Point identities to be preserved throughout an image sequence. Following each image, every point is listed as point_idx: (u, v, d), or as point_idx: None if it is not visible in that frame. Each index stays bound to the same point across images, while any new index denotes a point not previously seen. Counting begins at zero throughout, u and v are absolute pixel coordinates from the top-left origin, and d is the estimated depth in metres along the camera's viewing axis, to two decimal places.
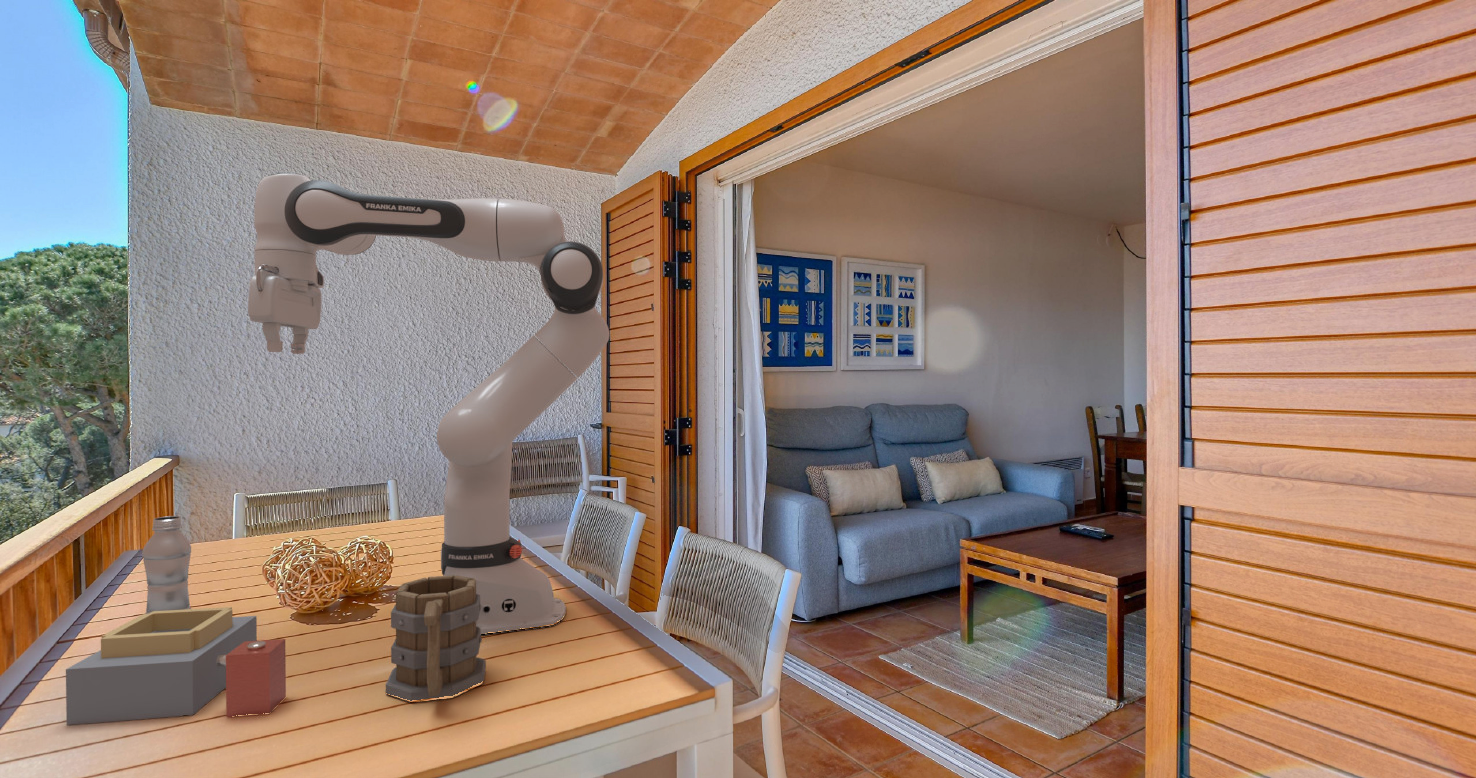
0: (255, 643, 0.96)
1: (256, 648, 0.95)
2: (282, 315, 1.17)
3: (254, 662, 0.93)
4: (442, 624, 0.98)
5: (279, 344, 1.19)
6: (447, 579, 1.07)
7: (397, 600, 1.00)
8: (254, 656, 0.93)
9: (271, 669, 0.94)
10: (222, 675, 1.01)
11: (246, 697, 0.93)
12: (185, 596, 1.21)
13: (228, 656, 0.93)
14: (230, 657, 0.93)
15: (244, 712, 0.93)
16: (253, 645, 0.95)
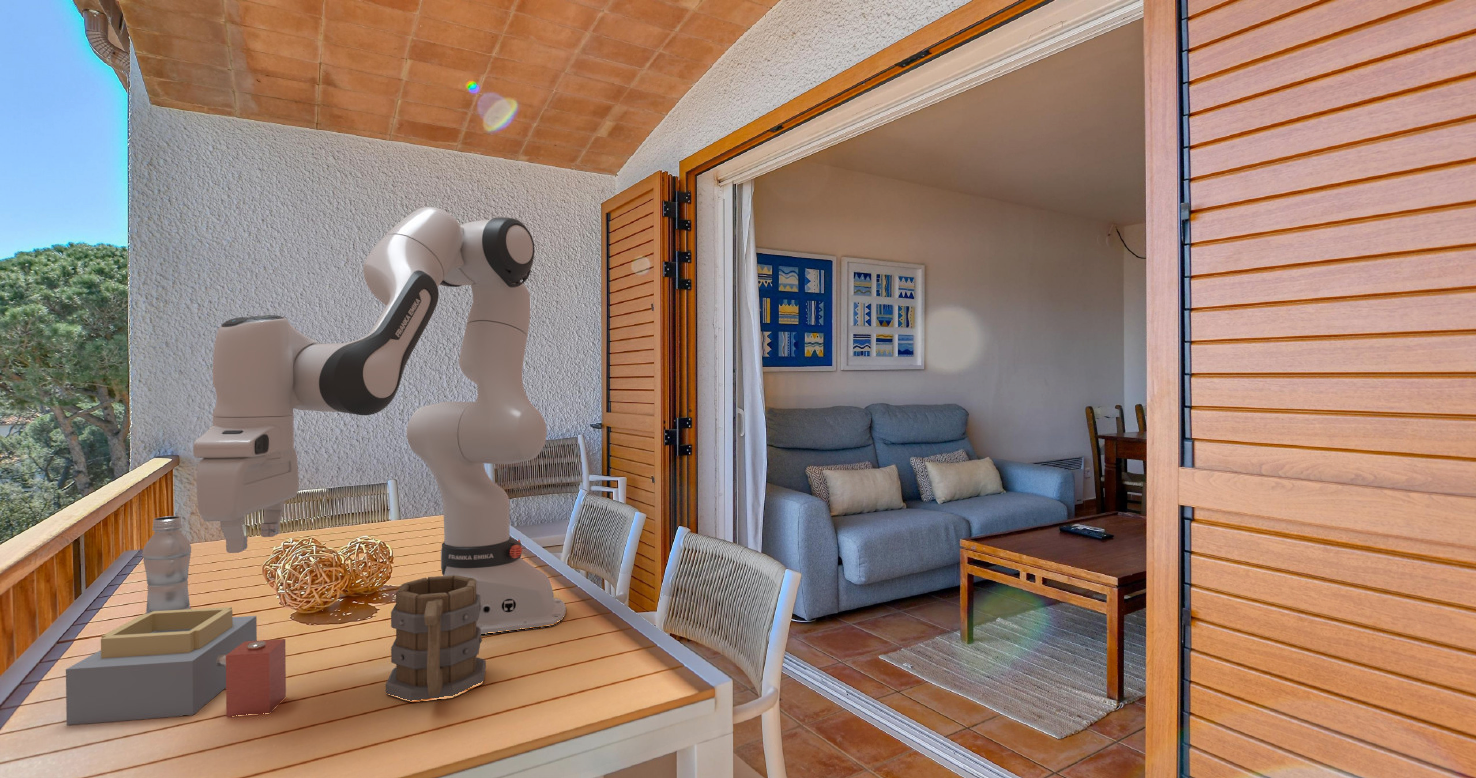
0: (255, 643, 0.96)
1: (256, 648, 0.95)
2: None
3: (254, 662, 0.93)
4: (443, 624, 0.98)
5: None
6: (447, 579, 1.07)
7: (397, 600, 1.00)
8: (254, 656, 0.93)
9: (271, 669, 0.94)
10: (222, 675, 1.01)
11: (246, 697, 0.93)
12: (185, 596, 1.21)
13: (228, 656, 0.93)
14: (230, 657, 0.93)
15: (244, 712, 0.93)
16: (253, 645, 0.95)
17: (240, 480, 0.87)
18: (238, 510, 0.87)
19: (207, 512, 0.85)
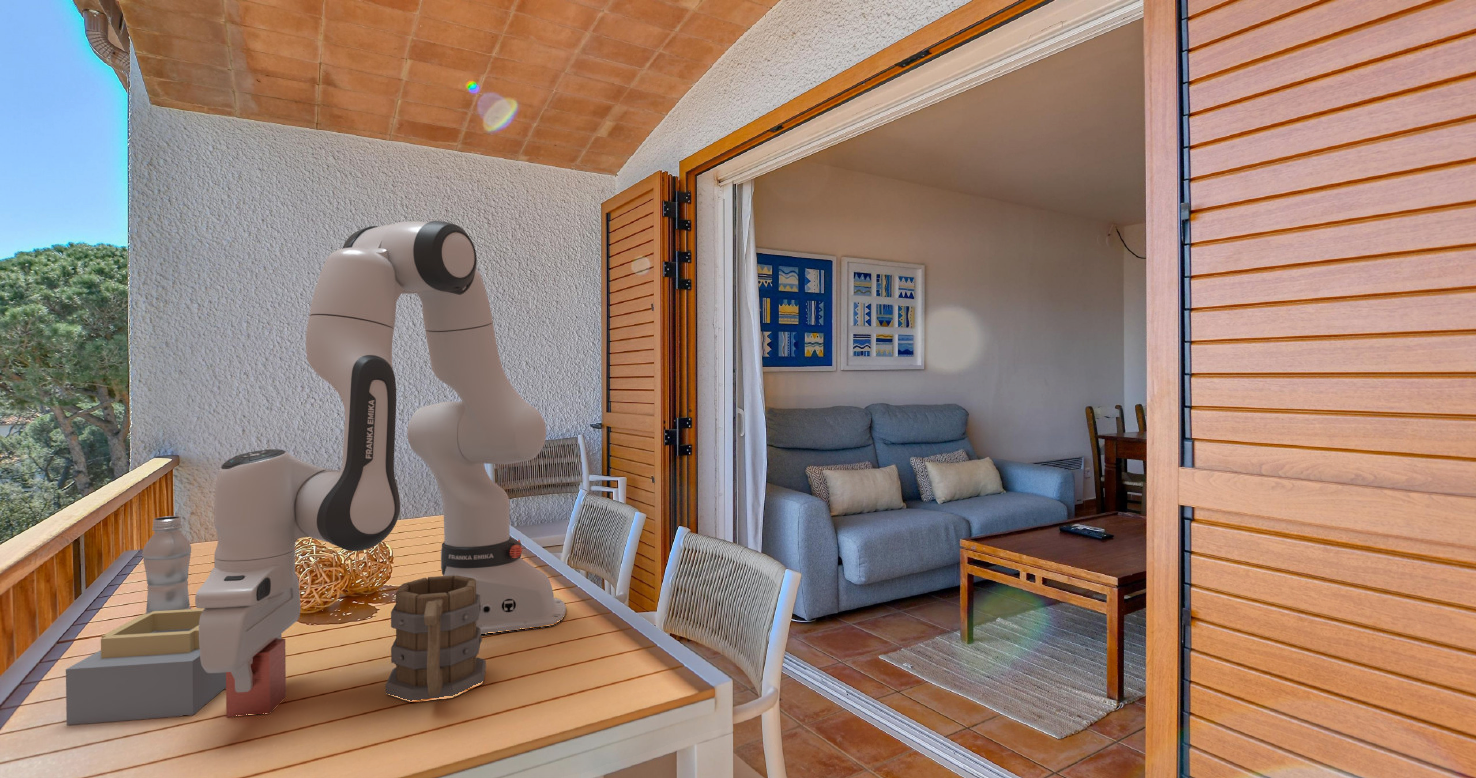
0: None
1: None
2: None
3: (254, 661, 0.93)
4: (442, 624, 0.98)
5: None
6: (447, 579, 1.07)
7: (397, 600, 1.00)
8: None
9: (271, 669, 0.94)
10: (222, 675, 1.01)
11: (246, 696, 0.93)
12: (185, 596, 1.21)
13: None
14: None
15: (244, 712, 0.93)
16: None
17: (243, 630, 0.87)
18: (241, 659, 0.88)
19: (210, 665, 0.86)
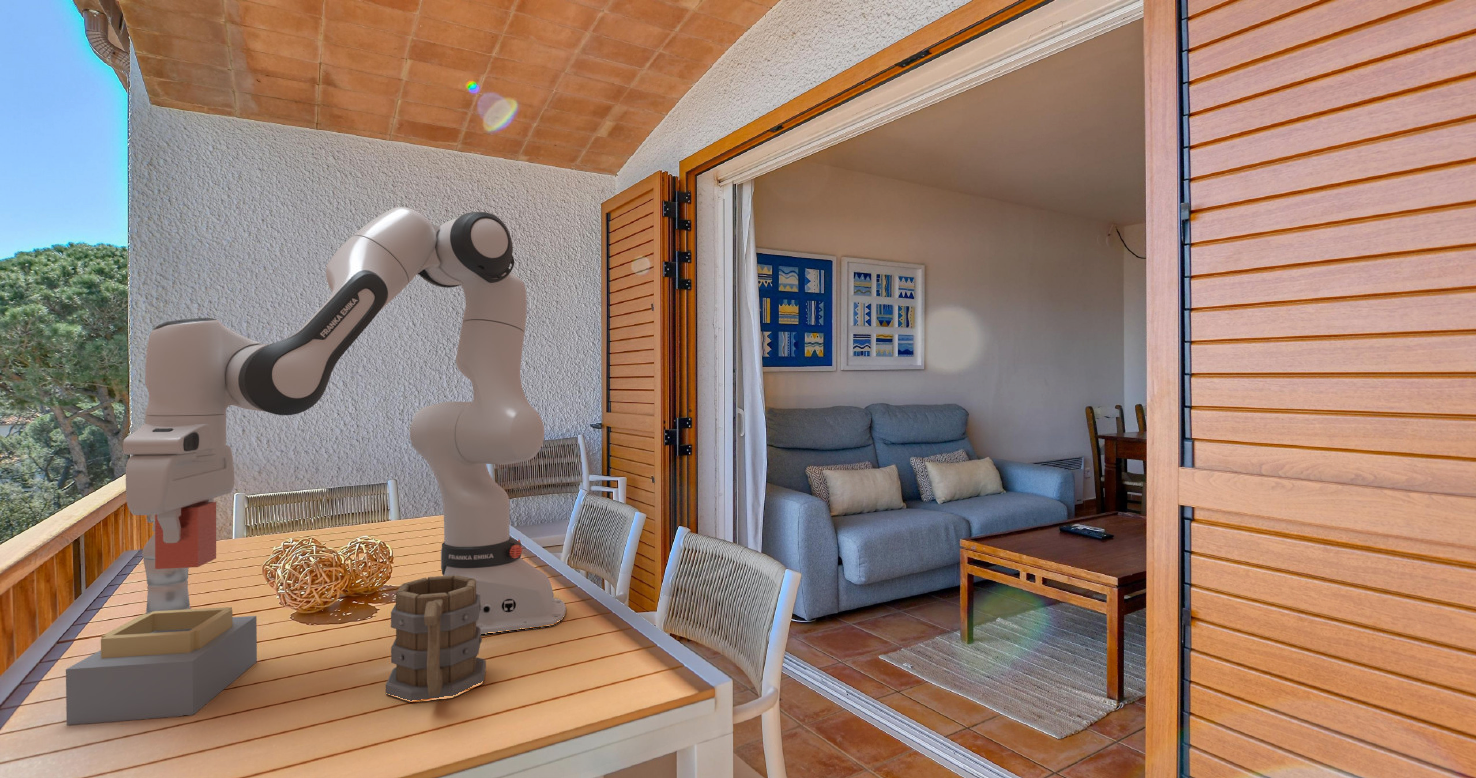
0: None
1: None
2: None
3: (182, 516, 0.97)
4: (442, 624, 0.98)
5: None
6: (447, 579, 1.07)
7: (397, 600, 1.00)
8: (183, 510, 0.97)
9: (200, 524, 0.98)
10: (222, 675, 1.01)
11: (175, 549, 0.97)
12: (185, 596, 1.21)
13: None
14: None
15: (173, 564, 0.97)
16: None
17: (169, 476, 0.91)
18: (167, 504, 0.92)
19: (136, 506, 0.90)
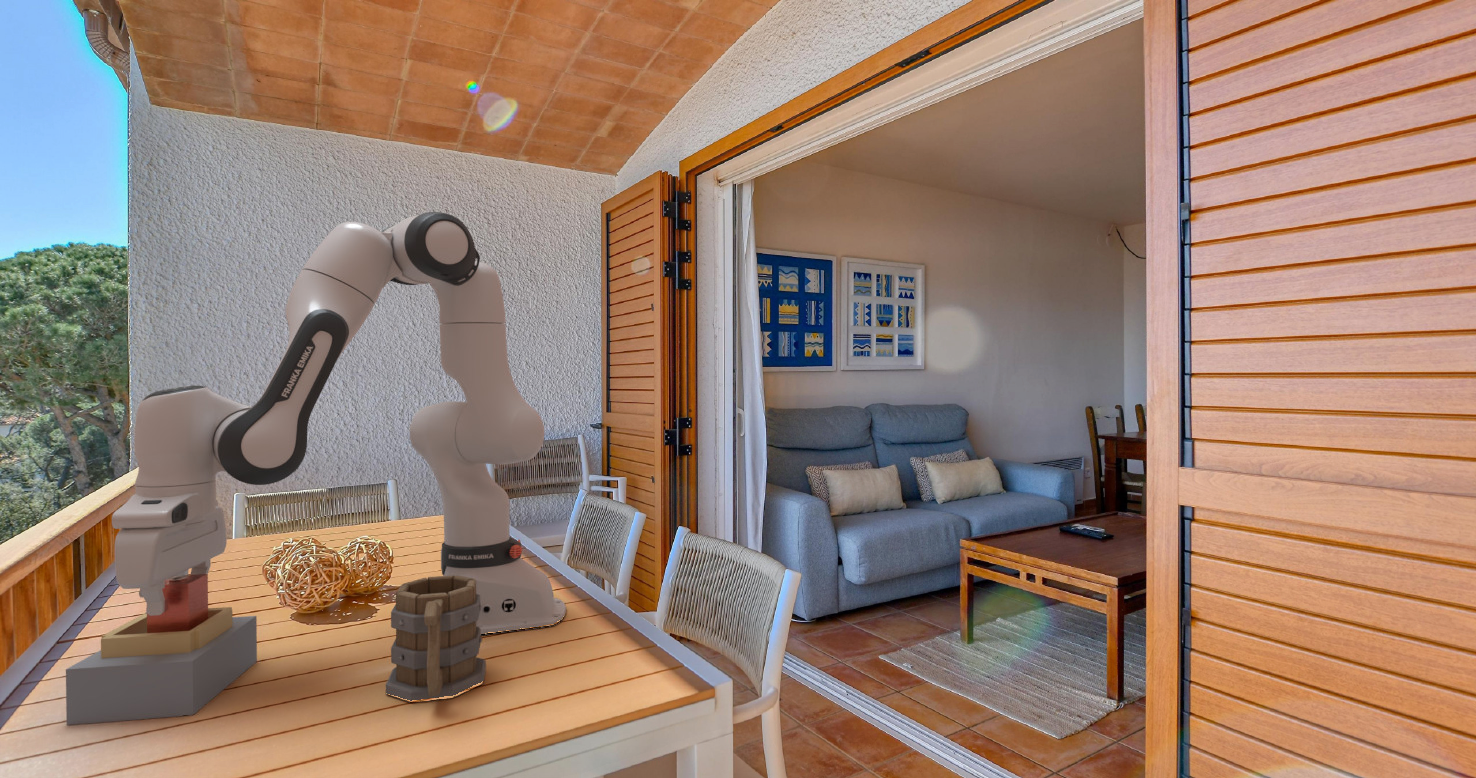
0: (177, 576, 1.01)
1: (177, 580, 1.00)
2: None
3: (173, 592, 0.99)
4: (442, 624, 0.98)
5: None
6: (447, 579, 1.07)
7: (397, 600, 1.00)
8: (173, 586, 0.99)
9: (191, 600, 1.00)
10: (222, 675, 1.01)
11: (166, 625, 0.98)
12: None
13: None
14: None
15: None
16: (174, 578, 1.00)
17: (157, 549, 0.92)
18: (156, 577, 0.93)
19: (125, 581, 0.91)
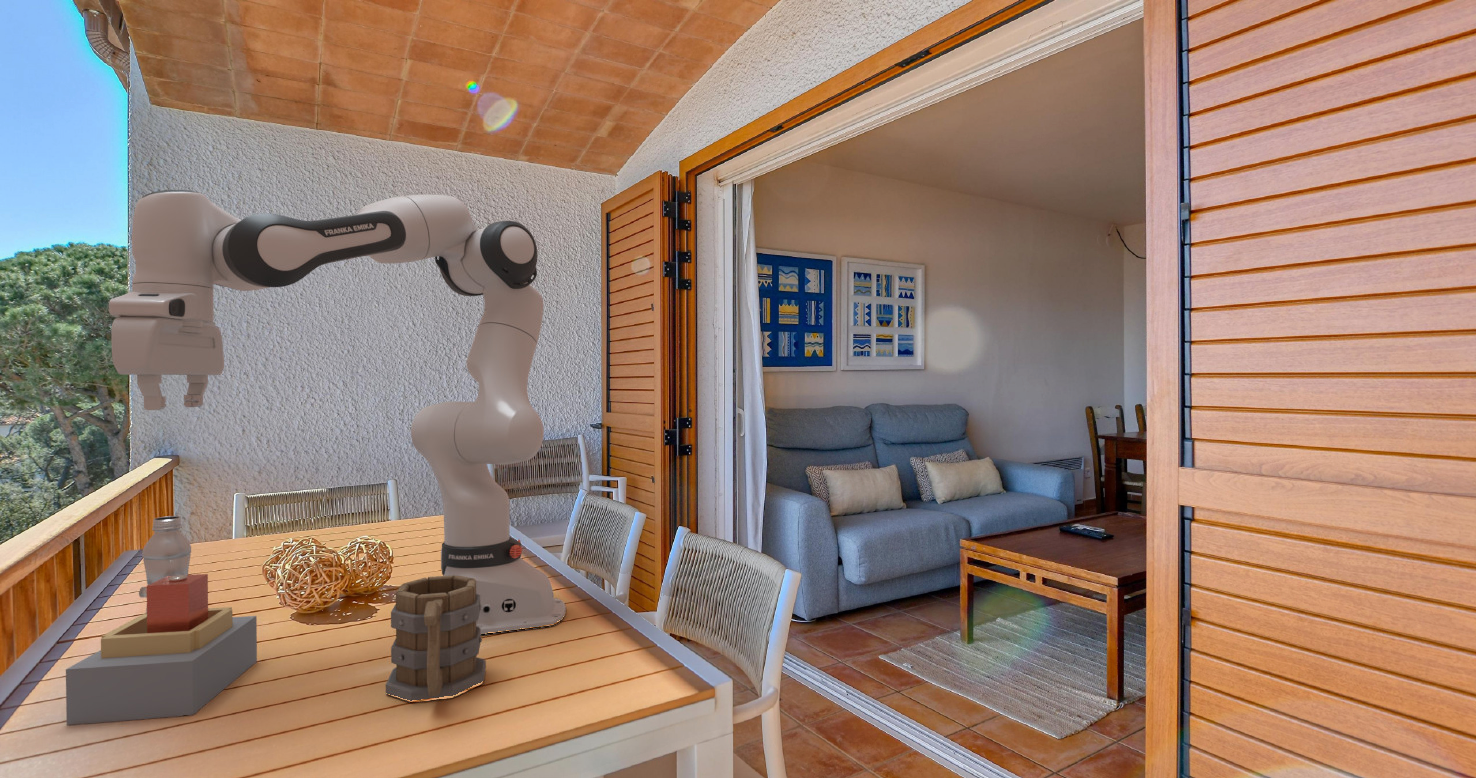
0: (177, 576, 1.01)
1: (177, 580, 1.00)
2: None
3: (173, 592, 0.99)
4: (442, 624, 0.98)
5: None
6: (447, 579, 1.07)
7: (397, 600, 1.00)
8: (173, 586, 0.99)
9: (191, 600, 1.00)
10: (222, 675, 1.01)
11: (166, 625, 0.98)
12: None
13: (149, 586, 0.98)
14: (151, 587, 0.98)
15: None
16: (174, 578, 1.00)
17: (154, 337, 0.92)
18: (153, 366, 0.92)
19: (121, 364, 0.90)
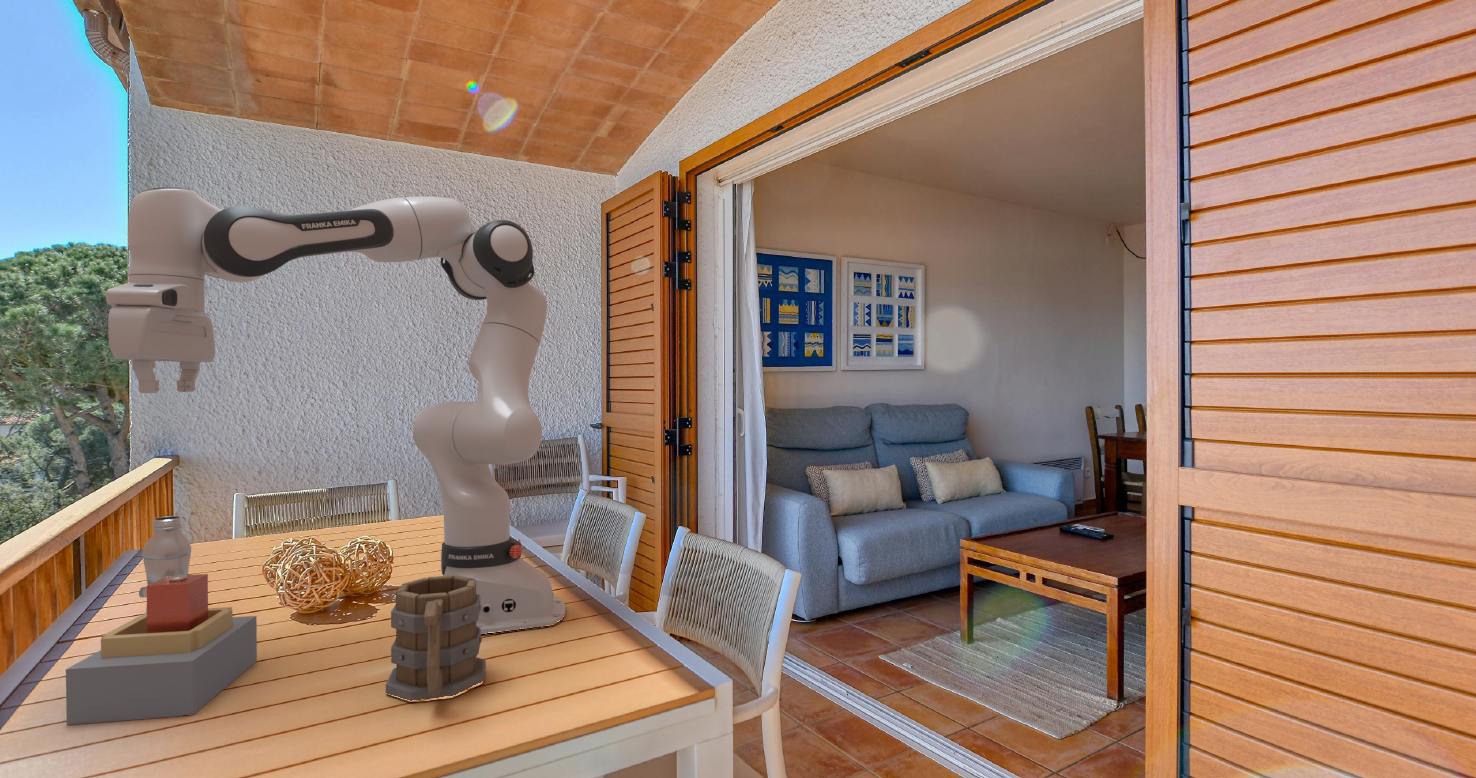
0: (177, 576, 1.01)
1: (177, 580, 1.00)
2: None
3: (173, 592, 0.99)
4: (442, 624, 0.98)
5: None
6: (447, 579, 1.07)
7: (397, 600, 1.00)
8: (173, 586, 0.99)
9: (191, 600, 1.00)
10: (222, 675, 1.01)
11: (166, 625, 0.98)
12: None
13: (149, 586, 0.98)
14: (151, 587, 0.98)
15: None
16: (174, 578, 1.00)
17: (148, 324, 0.99)
18: (147, 351, 0.99)
19: (118, 350, 0.97)
